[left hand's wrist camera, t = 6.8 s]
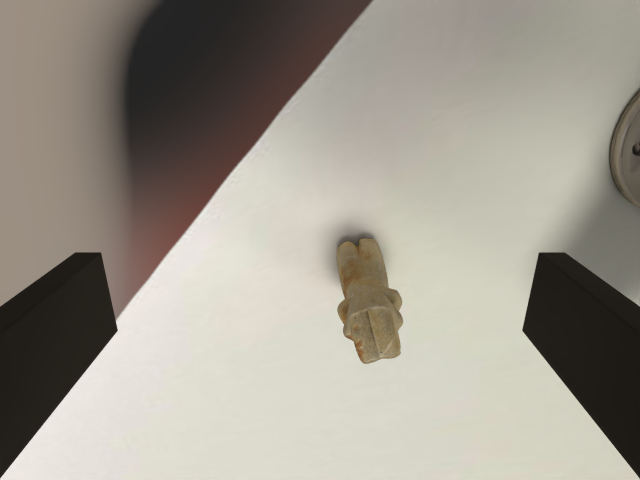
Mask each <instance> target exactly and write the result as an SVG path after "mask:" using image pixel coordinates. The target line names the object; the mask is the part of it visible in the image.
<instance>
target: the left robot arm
mask: <svg viewBox="0 0 640 480" xmlns="http://www.w3.org/2000/svg"><path fill="white" fill-rule="evenodd" d="M610 164H611V171H612V175H613V178H614V181H615V183H616V185H617V187H618V189H619V190H620V192H621V193H622V194H623V195H624V196H625V197H626V198H627V199H628V200H629V201H630V202H632V203H633V204H635V205H637V206H638V207H640V91H639V92H638V94H637V95H636V96H635V97H634V98H633V99H632V101H631V102H630V104H629V105H628V106H627V108H626V110H625V111H624V113H623V115H622V116H621V118H620V120H619V122H618V125H617V127H616V130H615V133H614V136H613V140H612V144H611V152H610ZM117 331H118V330H117V325H116V321H115V316H114V311H113V307H112V302H111V297H110V293H109V288H108V283H107V278H106V274H105V269H104V265H103V260H102V255H101V253H74V254H73V255H71V256H70V257H69V258H67V259H66V260H64V261H63V262H62V263H60V264H59V265H57V266H56V267H55V268H53V269H52V270H51V271H49V272H48V273H46V274H45V275H44V276H42V277H41V278H40V279H38V280H37V281H35V282H34V283H33V284H31V285H30V286H28V287H27V288H26V289H24V290H23V291H21V292H20V293H19V294H17V295H16V296H15V297H13V298H12V299H10V300H9V301H8V302H6V303H5V304H3V305H2V306H1V307H0V478H1V477H2V475H3V474H4V473H5V472H6V470H7V469H8V468H9V467H10V465H11V464H12V463H13V462H14V460H15V459H16V458H17V457H18V455H19V454H20V453H21V451H22V450H23V449H24V448H25V446H26V445H27V444H28V443H29V441H30V440H31V439H32V438H33V436H34V435H35V434H36V433H37V431H38V430H39V429H40V428H41V426H42V425H43V424H44V423H45V421H46V420H47V419H48V418H49V416H50V415H51V414H52V413H53V411H54V410H55V409H56V407H57V406H58V405H59V404H60V402H61V401H62V400H63V399H64V397H65V396H66V395H67V394H68V392H69V391H70V390H71V389H72V387H73V386H74V385H75V384H76V382H77V381H78V380H79V379H80V377H81V376H82V375H83V374H84V372H85V371H86V370H87V368H88V367H89V366H90V365H91V363H92V362H93V361H94V360H95V358H96V357H97V356H98V355H99V353H100V352H101V351H102V350H103V348H104V347H105V346H106V345H107V343H108V342H109V341H110V340H111V338H112V337H113V336H114V335H115V333H116V332H117ZM522 331H523V332H524V333H525V335H526V336H527V337H528V338H529V340H530V341H531V342H532V343H533V345H534V346H535V347H536V348H537V350H538V351H539V352H540V353H541V355H542V356H543V357H544V358H545V360H546V361H547V362H548V363H549V365H550V366H551V367H552V368H553V370H554V371H555V372H556V374H557V375H558V376H559V377H560V379H561V380H562V381H563V382H564V384H565V385H566V386H567V387H568V389H569V390H570V391H571V392H572V394H573V395H574V396H575V397H576V399H577V400H578V401H579V402H580V404H581V405H582V406H583V407H584V409H585V410H586V411H587V413H588V414H589V415H590V416H591V418H592V419H593V420H594V421H595V423H596V424H597V425H598V426H599V428H600V429H601V430H602V431H603V433H604V434H605V435H606V436H607V438H608V439H609V440H610V441H611V443H612V444H613V445H614V446H615V448H616V449H617V450H618V451H619V453H620V454H621V455H622V457H623V458H624V459H625V460H626V462H627V463H628V464H629V465H630V467H631V468H632V469H633V470H634V472H635V473H636V474H637V475H638V477H639V478H640V307H639V306H638V305H637V304H635V303H634V302H632V301H631V300H630V299H628V298H627V297H626V296H624V295H623V294H621V293H620V292H619V291H617V290H616V289H614V288H613V287H612V286H610V285H609V284H608V283H606V282H605V281H603V280H602V279H601V278H599V277H598V276H596V275H595V274H594V273H592V272H591V271H589V270H588V269H587V268H585V267H584V266H583V265H581V264H580V263H578V262H577V261H576V260H574V259H573V258H571V257H570V256H569V255H567V254H566V253H539V255H538V260H537V264H536V269H535V274H534V278H533V283H532V288H531V293H530V297H529V302H528V307H527V311H526V316H525V321H524V325H523V330H522Z"/></svg>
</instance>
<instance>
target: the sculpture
mask: <svg viewBox="0 0 640 480" xmlns="http://www.w3.org/2000/svg"><path fill="white" fill-rule="evenodd" d="M337 263H338V270H339V277H340V282H341V286H342V291H343V294H344V297H345V299H344V300H343V301H342V302H341V303H340V304H339V306H338V309H337V311H338V314H339V317H340V319H341V320H342V322H343V324H344V327H343V333H344V336H345V337H347V338H349V339H351V340H353V341H354V343H355V347H356V351H357V353H358V356H359V358H360V360H361V361H362V362H363V363H364V364H369V363H372V362H375V361H377V360H379V359H383V358H386V359H389V358H395V357H397V356H399V355H400V353H401V352H400V340H399V335H398V330H399V328H400V327H401V326H402V324H403V319H402V316H401V314H400V312H399V310H400V308H401V305H402V299H401V297H400V295H399V293H398V291H397V290H393V289H390V288H388V279H387V273H386V269H385V265H384V261H383V257H382V254H381V251H380V248H379V245H378V243H377V241H375V240H374V239H360V241H359V244H358V246H356V245H354V244H353V243H351V242H349V241H347V242H344V243H342V244H341V245H339V247H338V249H337Z"/></svg>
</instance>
